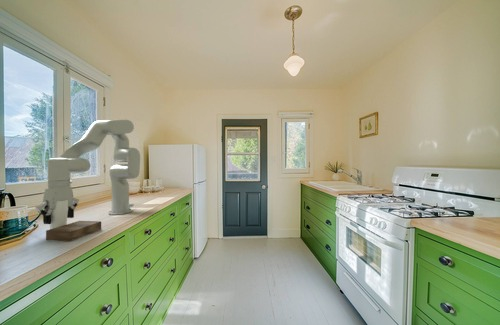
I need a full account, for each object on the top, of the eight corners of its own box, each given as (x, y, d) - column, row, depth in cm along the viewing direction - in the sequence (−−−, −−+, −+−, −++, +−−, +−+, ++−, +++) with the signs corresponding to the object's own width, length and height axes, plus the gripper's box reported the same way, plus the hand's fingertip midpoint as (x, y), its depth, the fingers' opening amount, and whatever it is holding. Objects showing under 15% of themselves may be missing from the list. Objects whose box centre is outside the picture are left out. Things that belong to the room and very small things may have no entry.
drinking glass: (55, 235, 86) (55, 202, 86) (43, 234, 88) (43, 201, 88) (72, 230, 93) (72, 199, 93) (61, 229, 94) (61, 198, 94)
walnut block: (79, 228, 95) (79, 220, 95) (101, 229, 93) (101, 221, 93) (46, 240, 81) (46, 230, 81) (70, 241, 80) (70, 231, 80)
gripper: (71, 182, 100) (71, 215, 100) (29, 186, 83) (29, 226, 83) (84, 182, 99) (84, 215, 99) (44, 186, 82) (44, 226, 82)
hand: (59, 220), depth 91 cm, fingers open, 9 cm apart
